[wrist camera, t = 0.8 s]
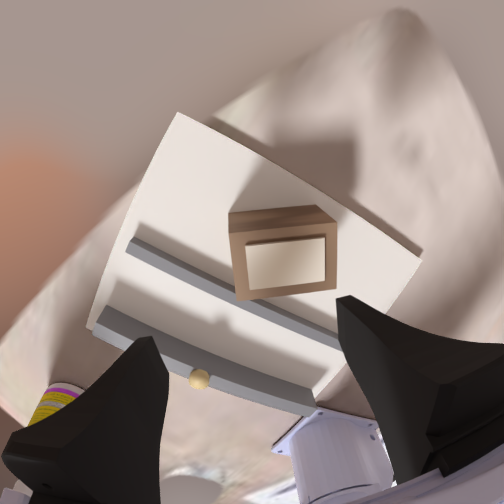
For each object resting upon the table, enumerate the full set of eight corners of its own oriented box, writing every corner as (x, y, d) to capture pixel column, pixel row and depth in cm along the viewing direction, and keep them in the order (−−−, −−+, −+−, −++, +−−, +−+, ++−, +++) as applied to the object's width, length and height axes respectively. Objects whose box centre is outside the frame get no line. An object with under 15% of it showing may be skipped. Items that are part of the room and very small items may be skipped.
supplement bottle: (37, 391, 25) (-9, 485, 13) (68, 370, 24) (16, 482, 12) (83, 430, 27) (53, 525, 15) (119, 414, 26) (91, 526, 14)
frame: (315, 204, 20) (338, 223, 16) (317, 260, 21) (337, 290, 17) (228, 212, 20) (228, 234, 15) (234, 269, 21) (236, 303, 17)
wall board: (418, 257, 22) (443, 277, 19) (299, 407, 27) (307, 436, 24) (178, 112, 18) (168, 107, 14) (87, 323, 22) (71, 350, 19)
